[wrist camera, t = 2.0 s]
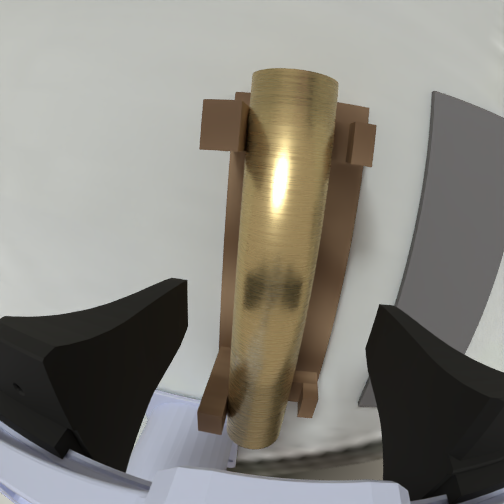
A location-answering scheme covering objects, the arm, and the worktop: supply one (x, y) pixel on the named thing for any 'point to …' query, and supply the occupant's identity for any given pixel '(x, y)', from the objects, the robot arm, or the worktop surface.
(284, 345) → the rail
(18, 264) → the worktop surface
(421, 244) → the mat
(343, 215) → the hook stand
